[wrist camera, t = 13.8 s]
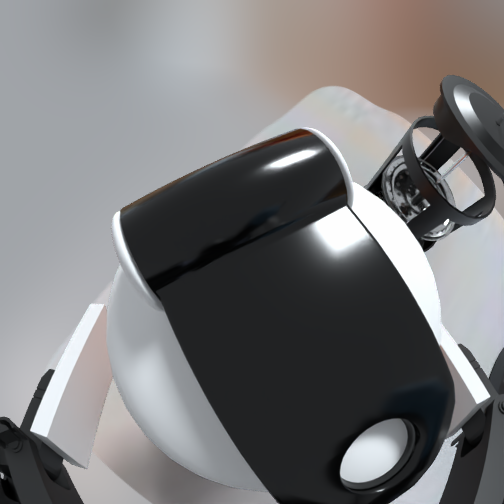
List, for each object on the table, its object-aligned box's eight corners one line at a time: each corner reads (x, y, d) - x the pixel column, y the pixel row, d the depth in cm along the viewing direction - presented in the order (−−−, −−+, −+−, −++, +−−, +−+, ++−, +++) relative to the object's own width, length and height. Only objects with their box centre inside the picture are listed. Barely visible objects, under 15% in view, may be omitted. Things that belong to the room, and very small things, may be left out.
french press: (407, 287, 25) (610, 190, 3) (333, 237, 26) (492, 32, 4) (436, 203, 28) (564, 85, 6) (374, 159, 29) (472, -2, 7)
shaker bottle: (245, 400, 21) (252, 597, 2) (181, 317, 23) (-14, 263, 4) (328, 336, 23) (543, 332, 4) (265, 255, 25) (323, 48, 5)
